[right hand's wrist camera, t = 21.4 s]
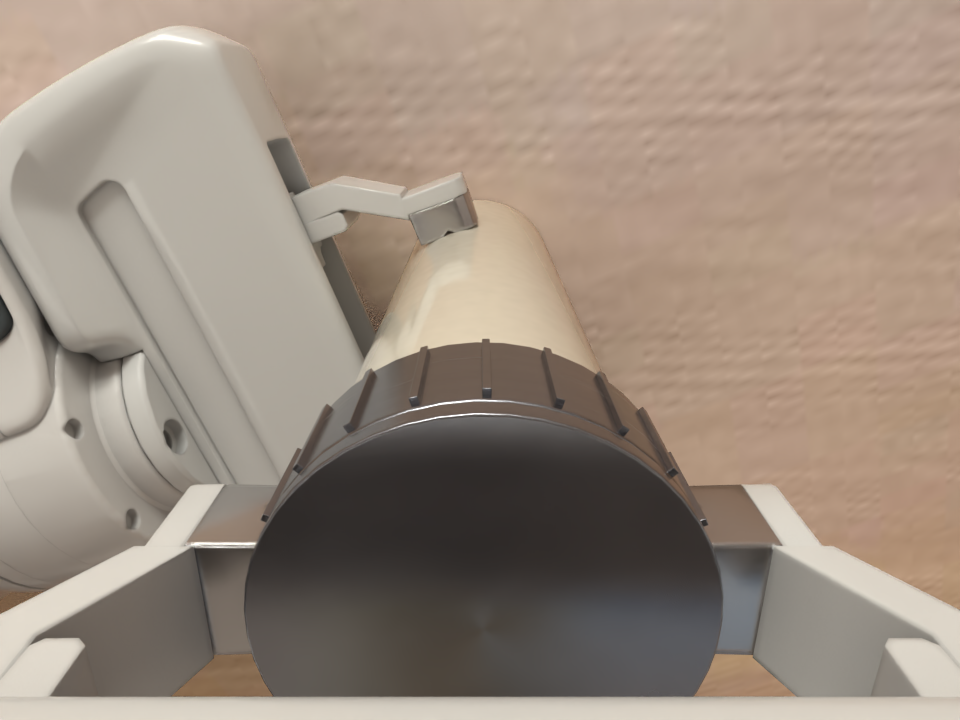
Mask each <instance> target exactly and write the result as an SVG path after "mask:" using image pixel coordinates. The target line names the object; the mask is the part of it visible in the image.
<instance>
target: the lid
mask: <svg viewBox="0 0 960 720" xmlns="http://www.w3.org/2000/svg"><path fill="white" fill-rule="evenodd" d="M261 521H263V522H266V523H265V525H264V527H263V529H262V531H261V533H260V535H259V538H258V540H257V543H256V545H255V548H254V550H253V553H252V556H251V558H250V562H249V567H248V572H247V576H246V581H245V593H244V615H245V623H246V632H247V637H248V641H249V644H250V648H251V651H252V655H253V658H254V661H255V663H256V665H257V667H258V670H259V672H260V674H261V676H262V678H263V680H264V682H265V684H266V685H267V687H268V689H269V690H270V692H271V693H272V695H273V696H274V697H693V696H694V695H695V694H696V692H697V691H698V689H699V687H700V685H701V683H702V682H703V680H704V678H705V676H706V674H707V673H708V671H709V668H710V666H711V663H712V660H713V658H714V655H715V652H716V649H717V647H718V642H719V637H720V632H721V627H722V622H723V596H724V595H723V588H722V580H721V572H720V568H719V564H718V561H717V558H716V555H715V551H714V548H713V545H712V543H711V541H710V539H709V537H708V535H707V533H706V531H705V529H704V527H705V526H707V525H708V522H707V519H706V517H705V515H704V513H703V511H702V510H701V508H700V506H699V504H698V502H697V500H696V498H695V497H694V495H693V493H692V491H691V489H690V487H689V485H688V484H687V482H686V480H685V478H684V476H683V474H682V472H681V471H680V469H679V467H678V465H677V463H676V461H675V459H674V457H673V456H672V454H671V452H668V451H667V449H666V447H665V445H664V444H663V442H662V440H661V438H660V436H659V434H658V432H657V430H656V428H655V427H654V425H653V423H652V421H651V419H650V417H649V415H648V413H647V412H646V410H645V409H644V408H643V407H642V408H640V409H639V410H638V409H637V408H636V407H635V406H634V405H633V404H632V403H631V401H630V400H629V399H628V398H627V397H626V396H625V395H624V394H623V393H621V392H620V391H619V390H618V389H616V388H615V387H614V386H613V385H611V384H610V383H609V382H608V380H607V378H606V375H605V374H604V373H602V372H601V371H599V372H598V373H597V374H596V373H594V372H592V371H590V370H589V369H587V368H585V367H584V366H582V365H580V364H578V363H575V362H573V361H571V360H568V359H566V358H564V357H561V356H559V355H557V354H553V353H552V351H551V349H550V348H546V347H544V348H543V351H542V350H539V349H535V348H532V347H526V346H520V345H513V344H507V343H490V339H482V342H472V343H462V344H451V345H445V346H441V347H436V348H432V349H429V348H428V346H424V347H421V348H420V351H419V352H417V353H414V354H411V355H408V356H405V357H403V358H400V359H397V360H395V361H393V362H391V363H389V364H387V365H385V366H383V367H381V368H379V369H377V370H375V371H373V370H372V368H371V369H369V370H367V371H366V372H365V374H364V377H363V379H362V380H360V381H359V382H357V383H356V384H355V385H353V386H352V387H351V388H349V389H348V390H347V391H346V392H345V393H344V394H343V395H342V396H341V397H340V398H339V399H338V400H336V401H335V402H334V403H333V404H332V406H329V405H328V404H326V405H325V406H324V407H323V408H322V410H321V412H320V414H319V416H318V418H317V420H316V422H315V424H314V426H313V428H312V430H311V432H310V434H309V436H308V438H307V440H306V442H305V444H304V446H303V448H302V449H300V448H297V449H296V451H295V453H294V455H293V457H292V459H291V461H290V463H289V465H288V467H287V469H286V471H285V472H284V474H283V476H282V478H281V480H280V482H279V484H278V486H277V488H276V490H275V492H274V494H273V495H272V497H271V499H270V501H269V503H268V505H267V507H266V509H265V511H264V513H263V515H262V517H261Z"/></svg>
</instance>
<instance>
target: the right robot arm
mask: <svg viewBox="0 0 960 720" xmlns="http://www.w3.org/2000/svg"><path fill="white" fill-rule="evenodd" d="M277 486H278V485H239V484H229V485H226V484H196V485H193V486H190V487H189V488H188V489H187V491H186V492H185V493H184V495H183V496H182V497H181V499H180V500H179V501H178V503H177V504H176V505H175V507H174V508H173V509H172V511H171V512H170V513H169V515H168V516H167V517H166V518H165V520H164V521H163V522H162V524H161V525H160V526H159V528H158V529H157V530H156V532H155V533H154V534H153V536H152V537H151V538H150V540H149V541H148V542H147V544H146V545H145V546H133V547H131V548H129V549H127V550H125V551H124V552H122V553H120V554H118V555H116V556H114V557H112V558H110V559H108V560H106V561H104V562H102V563H100V564H98V565H96V566H94V567H92V568H90V569H88V570H86V571H84V572H82V573H80V574H78V575H76V576H74V577H72V578H70V579H68V580H66V581H65V582H63V583H61V584H59V585H57V586H55V587H53V588H51V589H49V590H47V591H45V592H43V593H41V594H39V595H37V596H35V597H33V598H31V599H29V600H27V601H25V602H23V603H21V604H19V605H17V606H15V607H13V608H11V609H9V610H7V611H6V612H4V613H2V614H0V720H960V610H959V609H957V608H955V607H953V606H951V605H949V604H947V603H945V602H943V601H941V600H939V599H937V598H935V597H933V596H931V595H929V594H927V593H925V592H923V591H921V590H919V589H917V588H915V587H913V586H911V585H909V584H907V583H905V582H903V581H901V580H899V579H897V578H895V577H893V576H891V575H889V574H887V573H885V572H883V571H882V570H880V569H878V568H876V567H874V566H872V565H870V564H868V563H866V562H864V561H862V560H860V559H858V558H856V557H854V556H852V555H850V554H848V553H846V552H844V551H842V550H840V549H838V548H836V547H834V546H822V545H821V543H820V542H819V541H818V539H817V538H816V537H815V536H814V534H813V533H812V532H811V530H810V529H809V528H808V527H807V525H806V524H805V523H804V521H803V520H802V519H801V518H800V516H799V515H798V514H797V512H796V511H795V510H794V509H793V507H792V506H791V505H790V503H789V502H788V501H787V500H786V498H785V497H784V496H783V494H782V493H781V492H780V491H779V489H778V488H777V487H776V486H774V485H772V484H746V485H710V486H689V487H690V489H691V491H692V493H693V495H694V497H695V498H696V500H697V502H698V504H699V506H700V508H701V510H702V511H703V513H704V515H705V517H706V519H707V522H708V525H707V526H705V527H704V529H705V531H706V533H707V535H708V537H709V539H710V541H711V543H712V545H713V548H714V551H715V555H716V558H717V561H718V564H719V568H720V572H721V580H722V588H723V595H724V596H723V622H722V627H721V632H720V637H719V642H718V647H717V649H716V652H715V654H740V655H753V658H754V659H755V660H756V661H757V662H758V663H760V664H761V665H762V666H763V667H764V668H765V669H766V670H767V671H769V672H770V673H771V674H772V675H773V676H774V677H775V678H776V679H778V680H779V681H780V682H781V683H782V684H783V685H784V686H785V687H787V688H788V689H789V690H790V691H791V692H792V693H793V694H795V695H796V696H797V697H171V696H172V695H173V694H174V693H175V692H176V691H177V690H179V689H180V688H181V687H182V686H183V685H184V684H185V683H186V682H188V681H189V680H190V679H191V678H192V677H193V676H194V675H195V674H197V673H198V672H199V671H200V670H201V669H202V668H203V667H204V666H205V665H207V664H208V663H209V662H210V661H211V660H212V659H213V658H214V656H213V655H226V654H252V651H251V648H250V644H249V641H248V637H247V632H246V623H245V615H244V593H245V581H246V576H247V572H248V567H249V562H250V558H251V556H252V553H253V550H254V548H255V545H256V543H257V540H258V538H259V535H260V533H261V531H262V529H263V527H264V525H265V523H266V522H263V521H261V517H262V515H263V513H264V511H265V509H266V507H267V505H268V503H269V501H270V499H271V497H272V495H273V494H274V492H275V490H276V488H277Z"/></svg>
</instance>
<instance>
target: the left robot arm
mask: <svg viewBox="0 0 960 720" xmlns="http://www.w3.org/2000/svg"><path fill="white" fill-rule="evenodd" d="M467 187H468V186H467V184H466V181H465V178H464V176H463V173H462V172H459V173H455V174H451V175H449V176H446V177H443V178H441V179H438V180H435V181H433V182H430V183H427V184H425V185H422V186H419V187H417V188H414V189H411V190H409V191H408V190H407V188H406V187H404V186H399V185H393V184H388V183H383V182H377V181H372V180H367V179H361V178H356V177H351V176H345V175H343V176H341V177H338V178H336V179H333V180H330V181H328V182H325V183H323V184H320V185H317V186H315V187H312V185H311V183H310V181H309V179H308V176H307V174H306V172H305V169H304V167H303V165H302V163H301V160H300V158H299V156H298V154H297V151H296V149H295V147H294V144H293V142H292V140H291V138H290V135H289V133H288V131H287V129H286V126H285V124H284V122H283V120H282V117H281V115H280V113H279V110H278V108H277V106H276V104H275V101H274V99H273V97H272V95H271V92H270V90H269V88H268V86H267V83H266V81H265V79H264V76H263V74H262V72H261V69H260V67H259V65H258V63H257V60H256V58H255V56H254V55H253V53H252V52H251V51H250V50H249V49H248V48H247V47H246V46H244V45H242V44H240V43H238V42H236V41H234V40H231V39H229V38H227V37H225V36H223V35H220V34H218V33H215V32H212V31H209V30H206V29H203V28H199V27H193V26H179V25H177V26H170V27H165V28H161V29H158V30H155V31H152V32H150V33H147V34H145V35H143V36H140V37H138V38H136V39H133V40H131V41H129V42H127V43H125V44H123V45H121V46H119V47H117V48H115V49H113V50H111V51H109V52H107V53H105V54H103V55H102V56H100V57H98V58H96V59H94V60H92V61H90V62H89V63H87V64H85V65H83V66H81V67H80V68H78V69H76V70H75V71H73V72H71V73H70V74H68V75H66V76H64V77H63V78H61V79H59V80H58V81H56V82H55V83H53V84H51V85H50V86H48V87H47V88H45V89H44V90H42V91H41V92H39V93H38V94H36V95H35V96H33V97H32V98H30V99H29V100H27V101H26V102H24V103H23V104H21V105H20V106H19V107H17V108H16V109H15V110H14V111H12V112H11V113H10V114H8V115H7V116H6V117H5V118H4V119H3V120H2V121H1V122H0V600H1V599H3V598H4V597H5V596H7V595H8V594H9V593H11V592H17V593H30V592H45V591H47V590H49V589H51V588H53V587H55V586H57V585H59V584H61V583H63V582H65V581H66V580H68V579H70V578H72V577H74V576H76V575H78V574H80V573H82V572H84V571H86V570H88V569H90V568H92V567H94V566H96V565H98V564H100V563H102V562H104V561H106V560H108V559H110V558H112V557H114V556H116V555H118V554H120V553H122V552H124V551H125V550H127V549H129V548H131V547H133V546H145V545H146V544H147V542H148V541H149V540H150V538H151V537H152V536H153V534H154V533H155V532H156V530H157V529H158V528H159V526H160V525H161V524H162V522H163V521H164V520H165V518H166V517H167V516H168V515H169V513H170V512H171V511H172V509H173V508H174V507H175V505H176V504H177V503H178V501H179V500H180V499H181V497H182V496H183V495H184V493H185V492H186V491H187V489H188V488H189V487H190V486H193V485H196V484H226V485H229V484H239V485H278V484H279V482H280V480H281V478H282V476H283V474H284V472H285V471H286V469H287V467H288V465H289V463H290V461H291V459H292V457H293V455H294V453H295V451H296V449H297V448H300V449H302V448H303V446H304V444H305V442H306V440H307V438H308V436H309V434H310V432H311V430H312V428H313V426H314V424H315V422H316V420H317V418H318V416H319V414H320V412H321V410H322V408H323V407H324V406H325V405H326V404H328V405H329V406H332V404H333V403H334V402H335V401H336V400H338V399H339V398H340V397H341V396H342V395H343V394H344V393H345V392H346V391H347V390H348V389H349V388H351V387H352V386H353V385H354V383H355V380H356V378H357V376H358V374H359V371H360V369H361V367H362V364H363V362H364V360H365V358H366V355H367V353H368V351H369V349H370V346H371V344H372V342H373V339H374V337H375V335H376V331H375V329H374V326H373V324H372V322H371V320H370V317H369V315H368V313H367V310H366V308H365V306H364V304H363V301H362V299H361V297H360V295H359V292H358V290H357V288H356V285H355V283H354V281H353V279H352V276H351V274H350V272H349V270H348V267H347V265H346V263H345V260H344V258H343V256H342V254H341V251H340V249H339V247H338V244H337V242H336V240H335V238H334V235H337V234H339V233H342V232H345V231H346V230H347V229H348V228H349V227H350V226H351V225H352V224H353V223H354V222H355V221H356V220H357V219H358V217H359V215H360V214H359V212H360V213H366V214H372V215H379V216H385V217H391V218H398V219H404V220H411V222H412V225H413V227H414V229H415V232H416V234H417V236H418V239H419V241H420V244H421V246H422V245H425V244H428V243H431V242H433V241H436V240H438V239H440V238H442V237H444V235H445V234H446V232H447V231H451V232H455V233H456V232H459V231H464V230H466V229H469V228H471V227H473V226H475V225H476V224H478V216H477V213H476V210H475V207H474V204H473V201H472V198H471V195H470V192H469V189H468V188H467Z"/></svg>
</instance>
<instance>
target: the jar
mask: <svg viewBox="0 0 960 720" xmlns="http://www.w3.org/2000/svg"><path fill="white" fill-rule="evenodd" d="M473 204H474V207H475V210H476V213H477V216H478V224H476V225H475V226H473V227H471V228H469V229H466V230H464V231H459V232H456V233H455V232H451V231H447V232H446V234H445V235H444V237H442V238H440V239H438V240H436V241H433V242H431V243H428V244H425V245H422V246H421V244H420V241H419V239H417V242H416V244H415V246H414V248H413V251H412V253H411V255H410V257H409V260H408V262H407V264H406V267H405V269H404V271H403V273H402V276H401V278H400V280H399V283H398V285H397V287H396V289H395V292H394V294H393V296H392V298H391V301H390V303H389V305H388V308H387V310H386V312H385V314H384V317H383V319H382V321H381V323H380V326H379V328H378V330H377V333H376V335H375V337H374V339H373V342H372V344H371V346H370V349H369V351H368V353H367V355H366V358H365V360H364V362H363V364H362V367H361V369H360V371H359V374H358V376H357V378H356V380H355V383H354V385H355V384H356V383H357V382H359V381H360V380H362V379H363V377H364V374H365V372H366V371H367V370H369V369H371V368H372V370H373V371H375V370H377V369H379V368H381V367H383V366H385V365H387V364H389V363H391V362H393V361H395V360H397V359H400V358H403V357H405V356H408V355H411V354H414V353H417V352H419V351H420V348H421V347H424V346H428V348H429V349H432V348H436V347H441V346H445V345H451V344H462V343H472V342H482V339H490V343H507V344H513V345H520V346H526V347H532V348H535V349H539V350H542V351H543V348H544V347H546V348H550V349H551V351H552V353H553V354H557V355H559V356H561V357H564V358H566V359H568V360H571V361H573V362H575V363H578V364H580V365H582V366H584V367H585V368H587V369H589V370H590V371H592V372H594V373H596V374H597V373H598V372H599V371H601V369H600V367H599V365H598V362H597V360H596V358H595V356H594V353H593V351H592V349H591V347H590V344H589V342H588V340H587V338H586V335H585V333H584V331H583V329H582V326H581V324H580V322H579V320H578V318H577V315H576V313H575V311H574V309H573V306H572V304H571V302H570V300H569V297H568V295H567V293H566V291H565V288H564V286H563V284H562V282H561V279H560V277H559V275H558V273H557V271H556V268H555V266H554V264H553V262H552V259H551V257H550V255H549V253H548V250H547V248H546V246H545V244H544V241H543V239H542V237H541V236H540V234H539V232H538V231H537V229H536V228H535V226H534V225H533V224H532V223H531V222H530V221H529V220H528V219H527V218H526V217H525V216H524V215H522V214H521V213H520V212H518V211H517V210H515V209H513V208H512V207H509V206H507V205H504V204H502V203H498V202H494V201H487V200H473ZM601 372H602V371H601Z"/></svg>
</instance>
